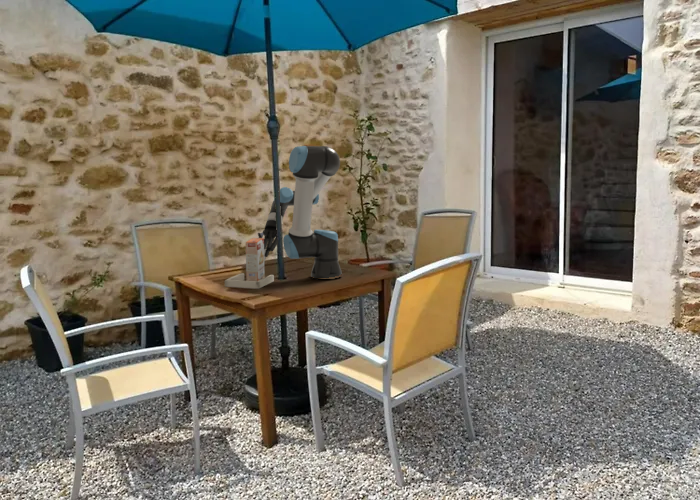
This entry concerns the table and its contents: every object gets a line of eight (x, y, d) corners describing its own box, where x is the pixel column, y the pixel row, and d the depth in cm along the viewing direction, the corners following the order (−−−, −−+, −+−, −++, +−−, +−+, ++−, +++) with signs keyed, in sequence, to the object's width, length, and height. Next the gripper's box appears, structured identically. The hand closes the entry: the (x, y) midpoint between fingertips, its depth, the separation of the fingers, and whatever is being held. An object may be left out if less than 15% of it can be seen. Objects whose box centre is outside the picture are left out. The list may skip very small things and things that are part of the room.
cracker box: (259, 287, 267) (257, 241, 264) (246, 287, 268) (244, 241, 264) (265, 280, 281) (264, 237, 278) (253, 280, 282) (251, 237, 278)
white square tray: (274, 281, 281) (273, 274, 280) (258, 288, 264) (258, 282, 264) (241, 279, 285) (241, 273, 285) (224, 286, 269) (224, 280, 269)
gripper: (287, 228, 301) (276, 266, 288) (264, 227, 305) (251, 265, 292) (283, 219, 296) (271, 257, 282) (259, 218, 299) (246, 256, 286)
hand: (261, 261), depth 287 cm, fingers closed
